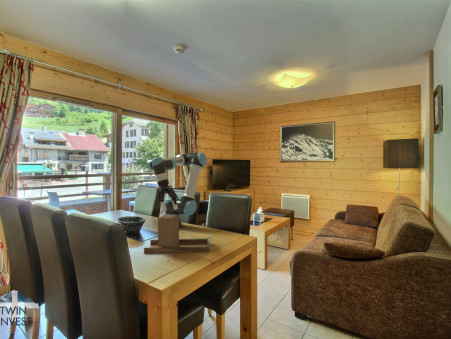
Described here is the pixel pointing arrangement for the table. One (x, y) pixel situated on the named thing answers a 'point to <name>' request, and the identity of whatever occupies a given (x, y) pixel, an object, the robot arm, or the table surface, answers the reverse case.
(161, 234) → the wooden block
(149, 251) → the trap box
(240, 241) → the table surface
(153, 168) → the robot arm
